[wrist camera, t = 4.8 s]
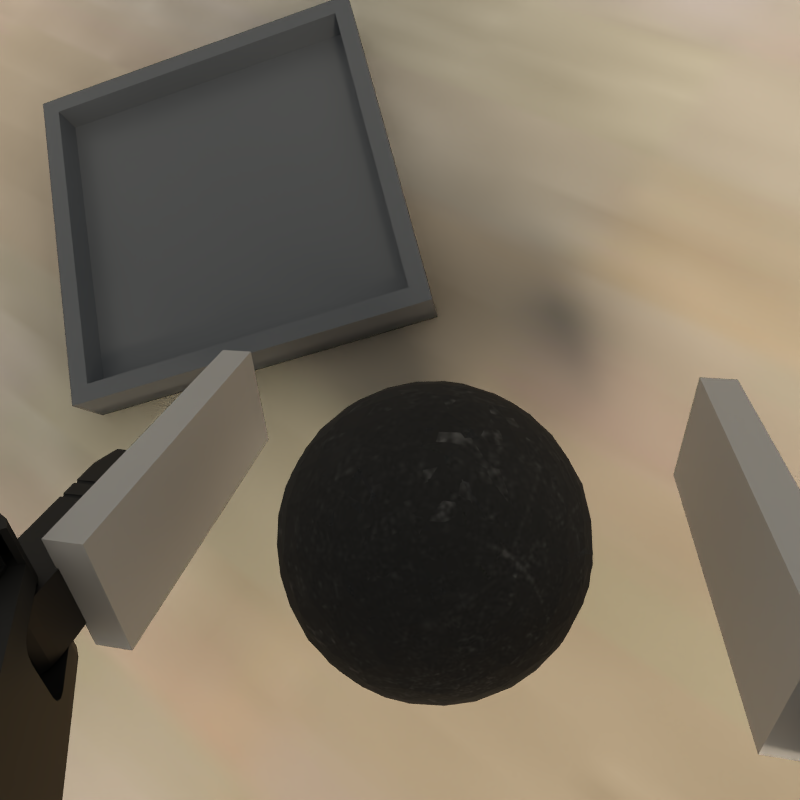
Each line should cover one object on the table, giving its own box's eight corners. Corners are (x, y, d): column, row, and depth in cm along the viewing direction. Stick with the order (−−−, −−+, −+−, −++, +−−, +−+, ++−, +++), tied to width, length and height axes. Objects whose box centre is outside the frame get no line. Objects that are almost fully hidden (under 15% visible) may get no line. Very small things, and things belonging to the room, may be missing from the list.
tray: (357, 29, 22) (347, -6, 21) (437, 316, 19) (432, 299, 18) (70, 130, 24) (43, 104, 22) (102, 415, 20) (72, 406, 19)
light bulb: (395, 423, 19) (283, 305, 9) (573, 466, 17) (663, 384, 8) (347, 599, 18) (163, 679, 8) (532, 659, 16) (574, 834, 7)
